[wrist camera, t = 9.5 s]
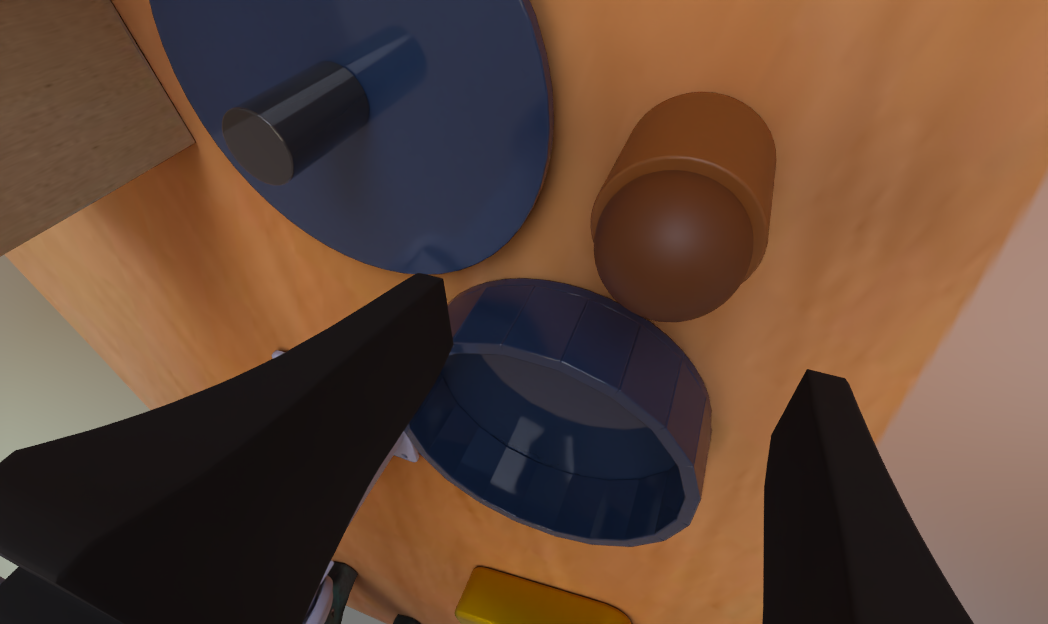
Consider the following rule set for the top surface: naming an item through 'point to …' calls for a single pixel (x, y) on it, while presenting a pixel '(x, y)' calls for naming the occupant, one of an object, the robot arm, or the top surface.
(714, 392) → the top surface
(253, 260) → the top surface
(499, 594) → the element tile
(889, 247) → the top surface
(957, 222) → the top surface
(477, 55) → the lid
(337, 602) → the ceramic cat
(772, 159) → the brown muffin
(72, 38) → the sandwich container
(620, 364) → the pot
